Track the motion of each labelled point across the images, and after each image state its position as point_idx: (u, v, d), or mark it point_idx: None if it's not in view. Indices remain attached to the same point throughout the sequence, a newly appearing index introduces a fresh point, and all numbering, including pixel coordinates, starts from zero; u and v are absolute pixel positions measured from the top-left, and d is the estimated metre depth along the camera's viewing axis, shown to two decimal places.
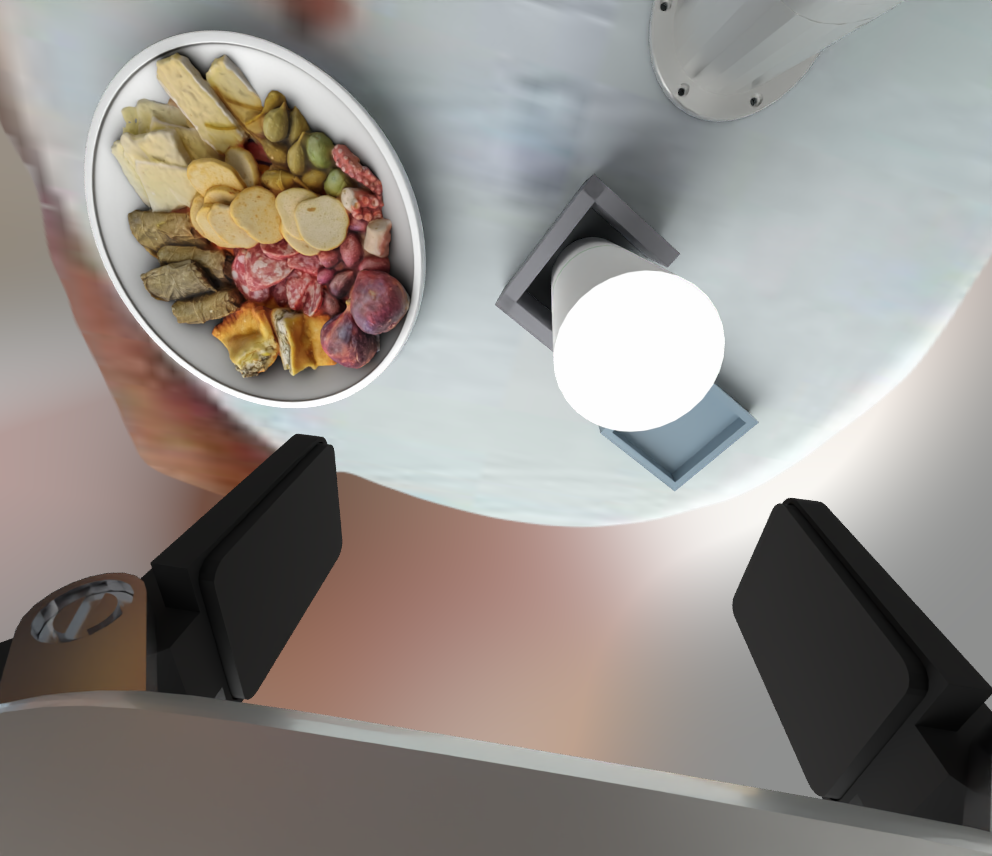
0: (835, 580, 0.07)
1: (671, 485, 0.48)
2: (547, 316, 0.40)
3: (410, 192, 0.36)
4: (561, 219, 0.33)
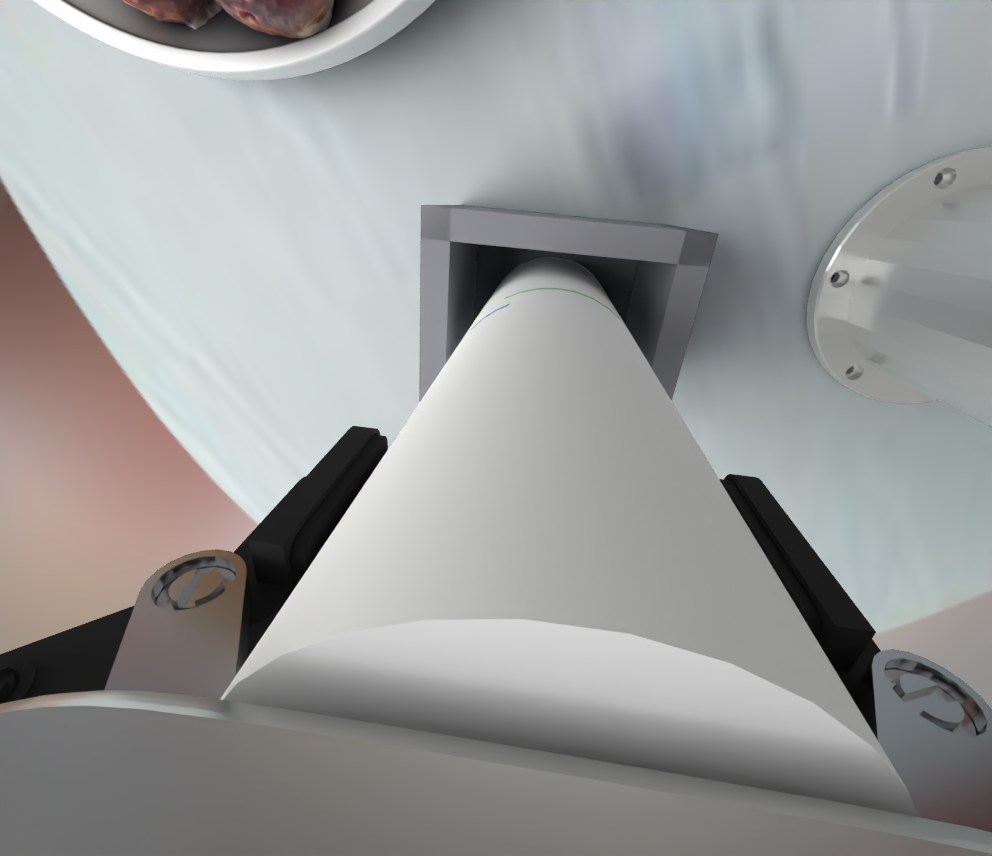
0: None
1: None
2: (464, 302, 0.23)
3: None
4: (622, 227, 0.17)
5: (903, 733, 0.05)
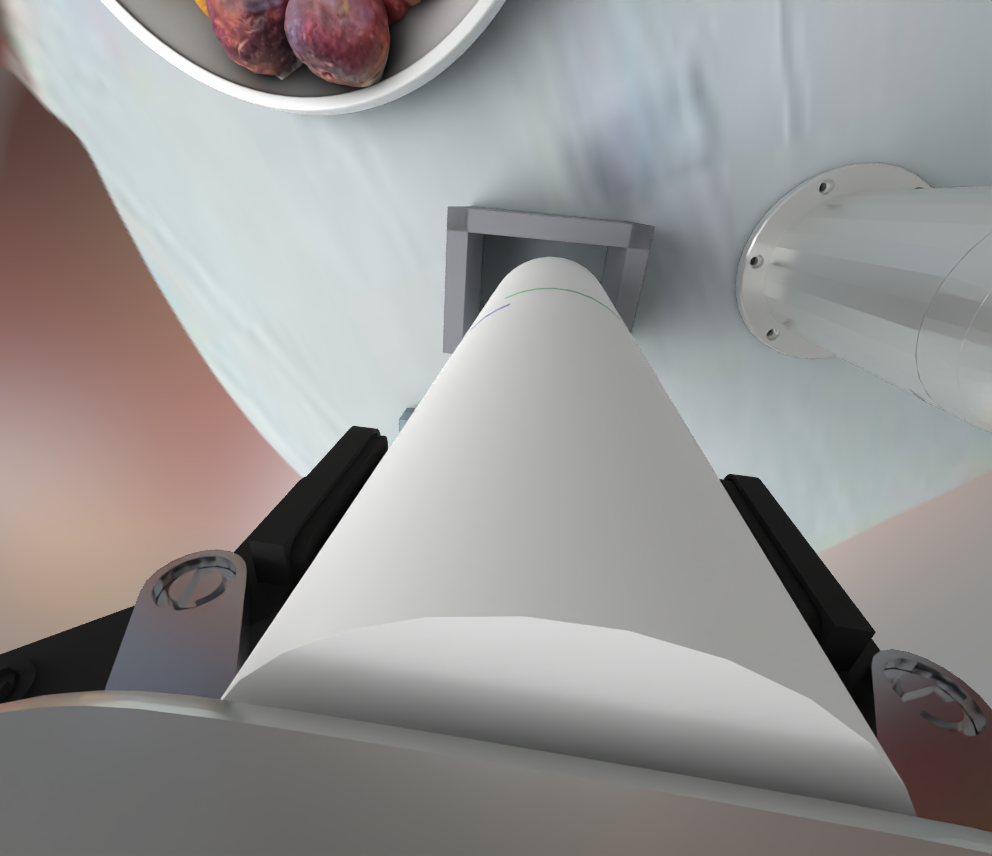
0: None
1: None
2: (474, 280, 0.31)
3: None
4: (589, 222, 0.25)
5: (902, 733, 0.05)
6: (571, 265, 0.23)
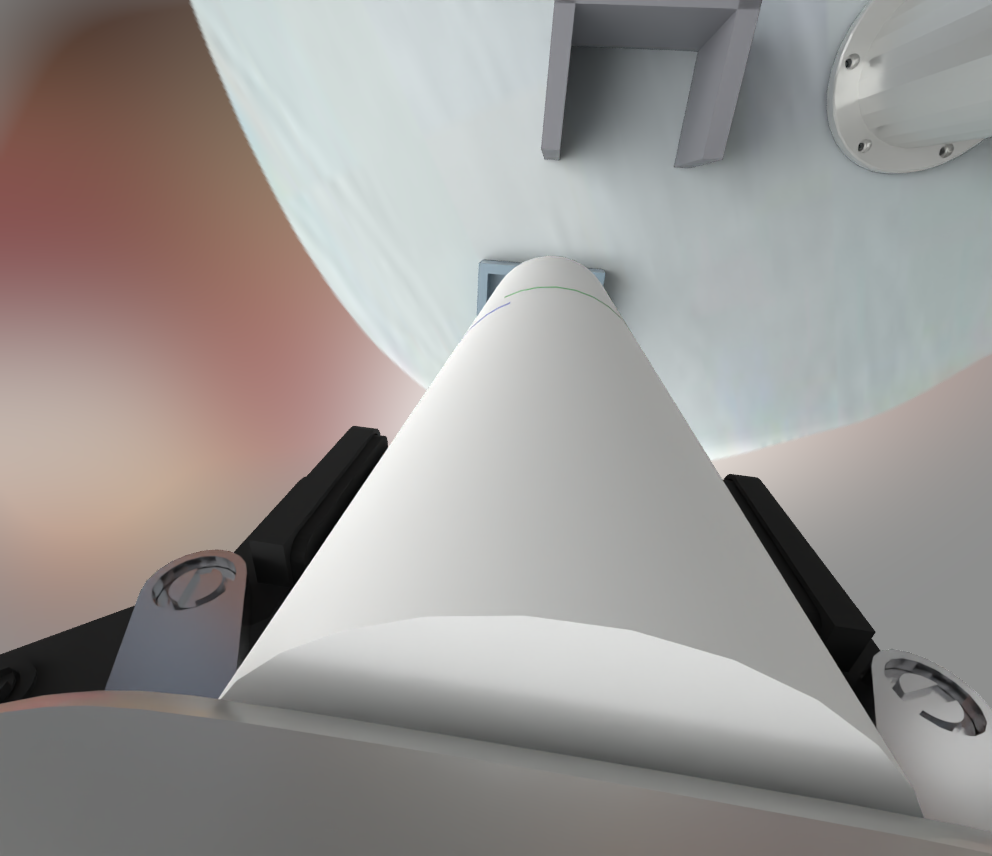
0: None
1: None
2: (566, 89, 0.31)
3: None
4: None
5: (903, 733, 0.05)
6: (571, 264, 0.23)
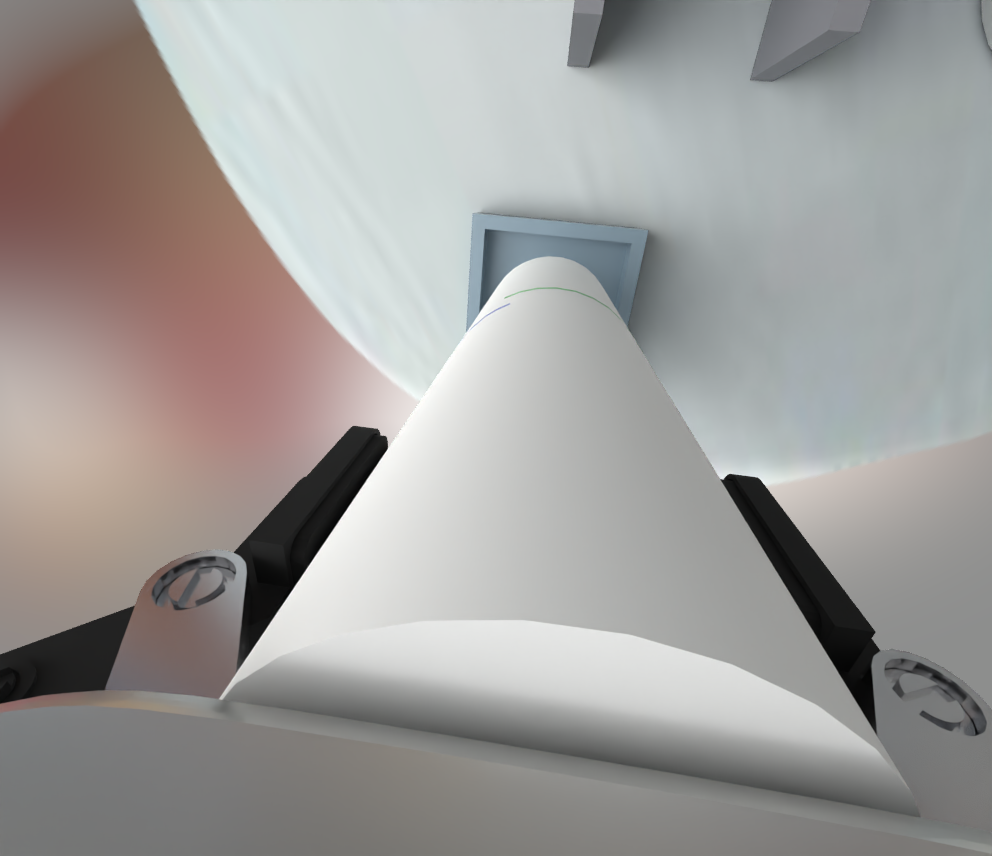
0: None
1: None
2: None
3: None
4: None
5: (902, 733, 0.05)
6: (571, 265, 0.23)
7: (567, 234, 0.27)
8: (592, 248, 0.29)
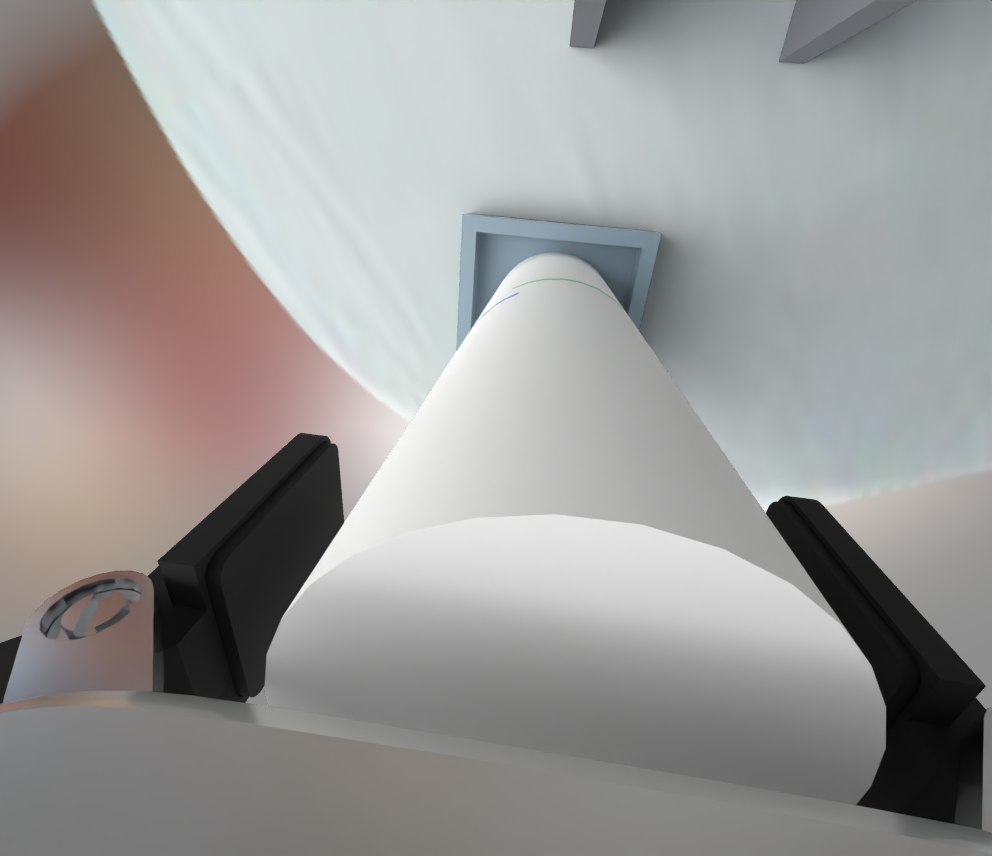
0: (829, 577, 0.07)
1: None
2: None
3: None
4: None
5: None
6: (574, 259, 0.24)
7: (570, 238, 0.24)
8: (598, 254, 0.26)
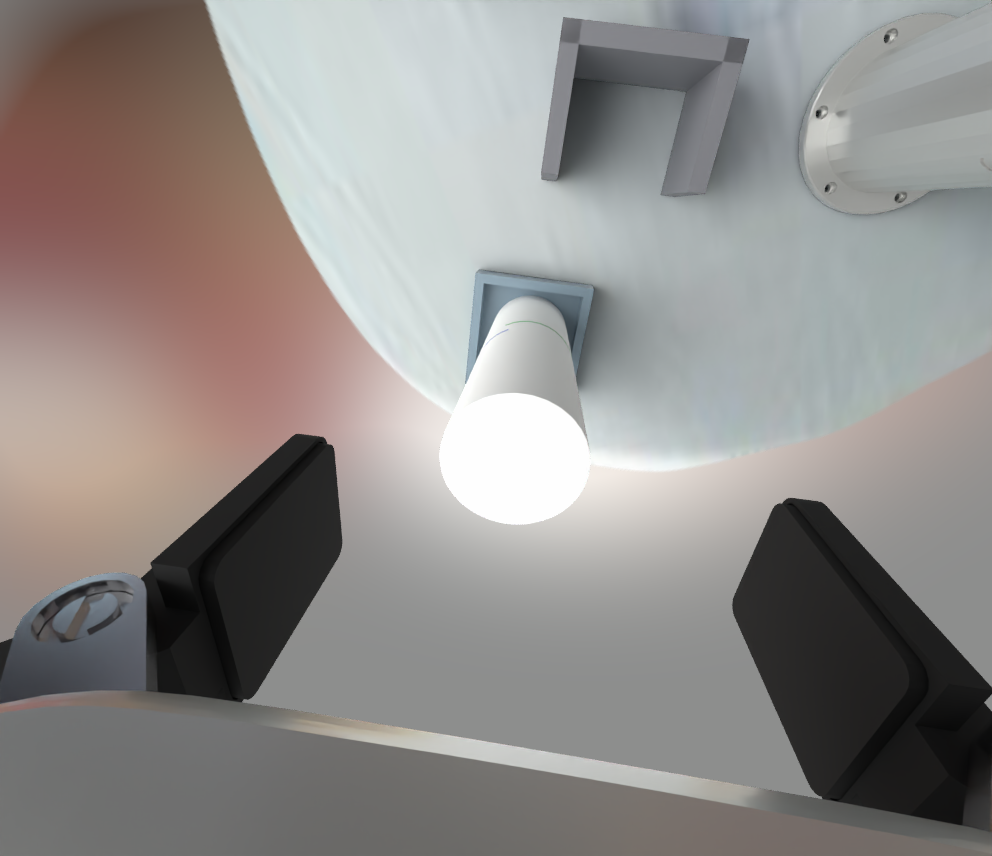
0: (835, 580, 0.07)
1: (468, 376, 0.45)
2: None
3: None
4: (690, 34, 0.28)
5: None
6: (542, 303, 0.40)
7: (540, 289, 0.40)
8: (558, 297, 0.42)
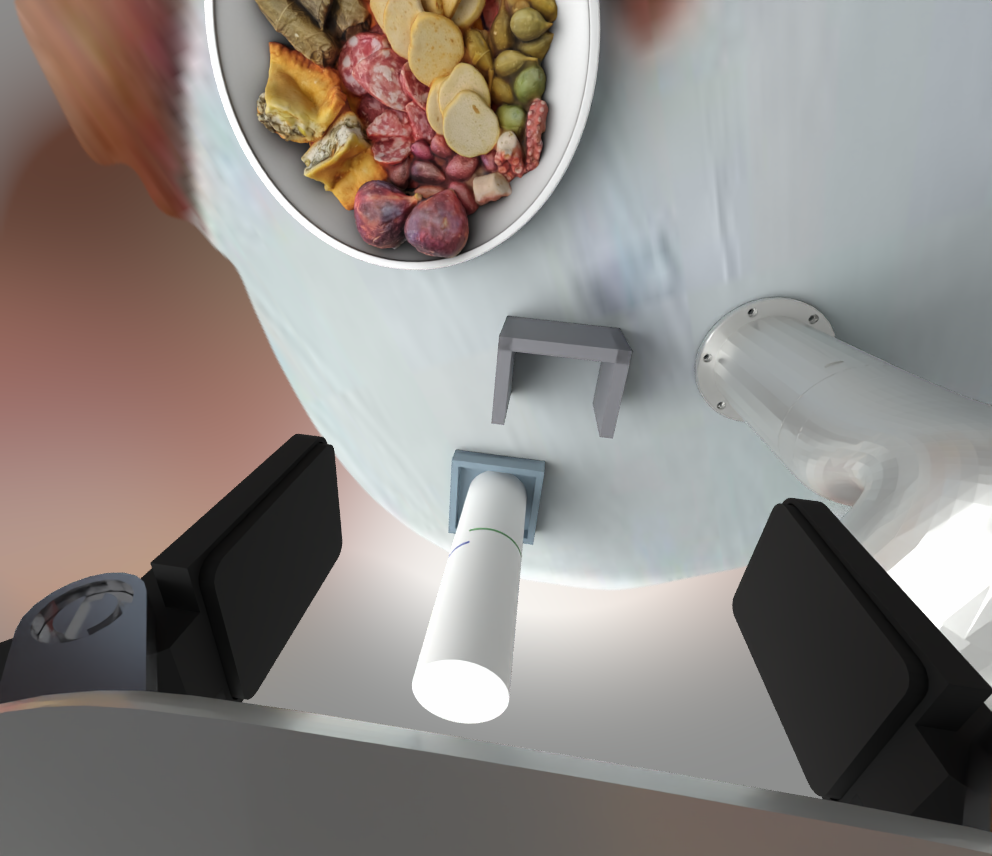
0: (835, 580, 0.07)
1: (450, 528, 0.56)
2: (511, 370, 0.45)
3: None
4: (590, 347, 0.39)
5: None
6: (504, 483, 0.51)
7: (502, 471, 0.52)
8: None
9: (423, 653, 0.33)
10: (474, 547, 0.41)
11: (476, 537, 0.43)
